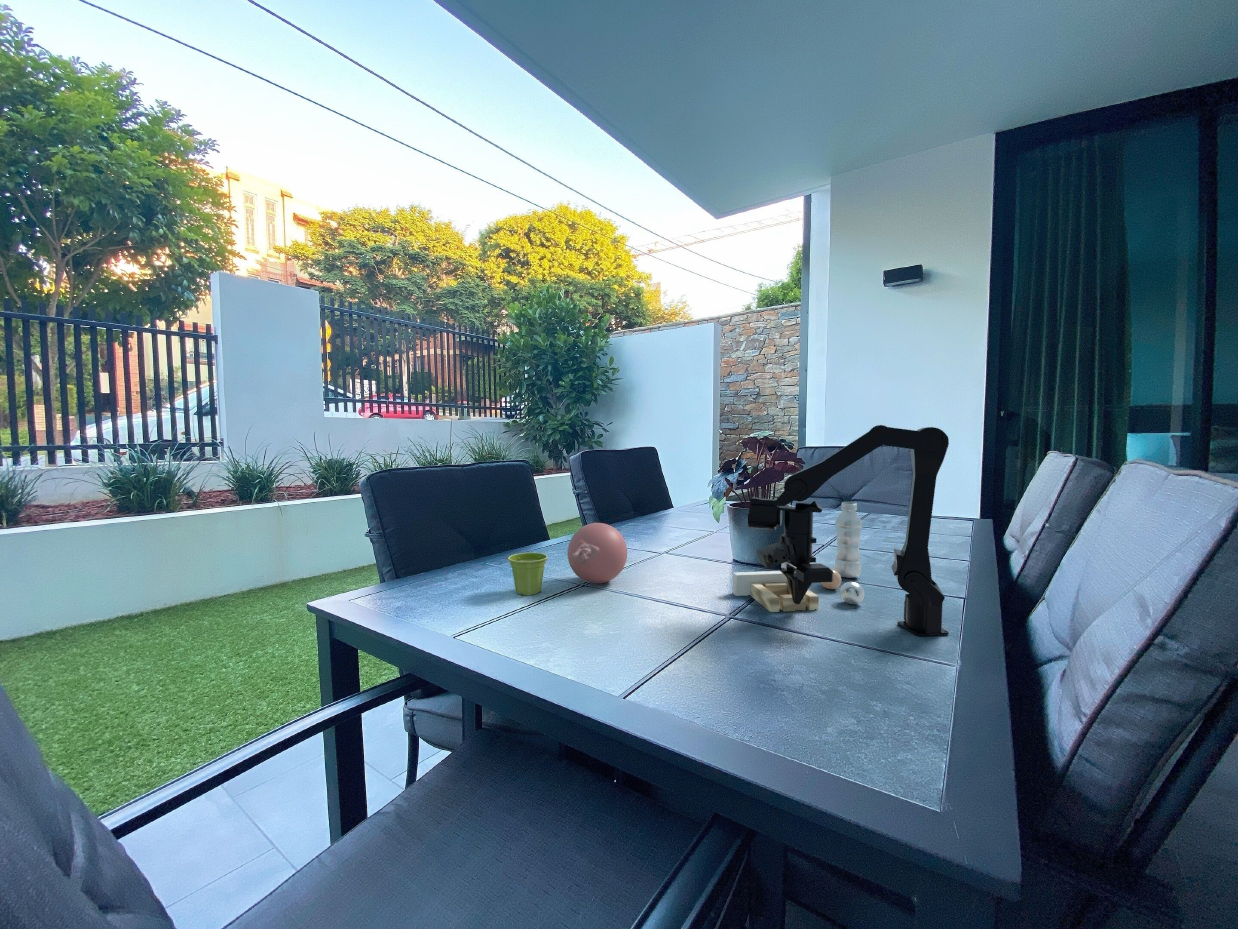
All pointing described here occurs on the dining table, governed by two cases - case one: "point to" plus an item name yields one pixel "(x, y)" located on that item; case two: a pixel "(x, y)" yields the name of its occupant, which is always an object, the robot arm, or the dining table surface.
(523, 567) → the plant pot
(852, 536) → the plastic bottle
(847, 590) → the steel ball
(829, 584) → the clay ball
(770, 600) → the beech collar
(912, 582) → the robot arm
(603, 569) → the pink ball
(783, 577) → the stop block
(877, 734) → the dining table surface
